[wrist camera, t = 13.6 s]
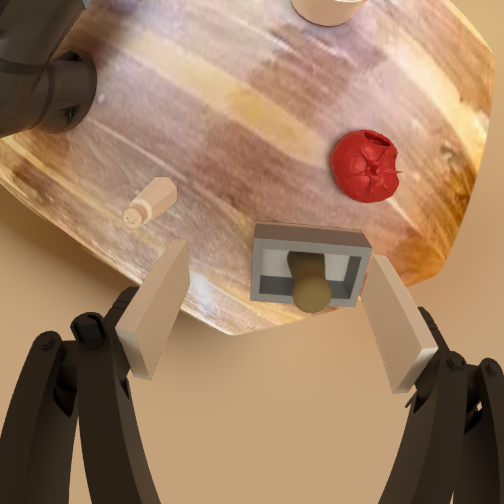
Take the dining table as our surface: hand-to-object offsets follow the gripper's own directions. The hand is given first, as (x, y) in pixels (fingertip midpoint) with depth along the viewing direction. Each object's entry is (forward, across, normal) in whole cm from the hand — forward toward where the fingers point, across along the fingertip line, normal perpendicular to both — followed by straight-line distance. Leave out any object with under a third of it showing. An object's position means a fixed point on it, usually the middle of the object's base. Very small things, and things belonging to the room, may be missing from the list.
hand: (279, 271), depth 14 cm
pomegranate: (+28, +12, +2) cm, 30 cm away
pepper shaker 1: (+28, -17, -5) cm, 33 cm away
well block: (+28, +6, -14) cm, 32 cm away
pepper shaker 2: (+27, +6, -14) cm, 31 cm away
